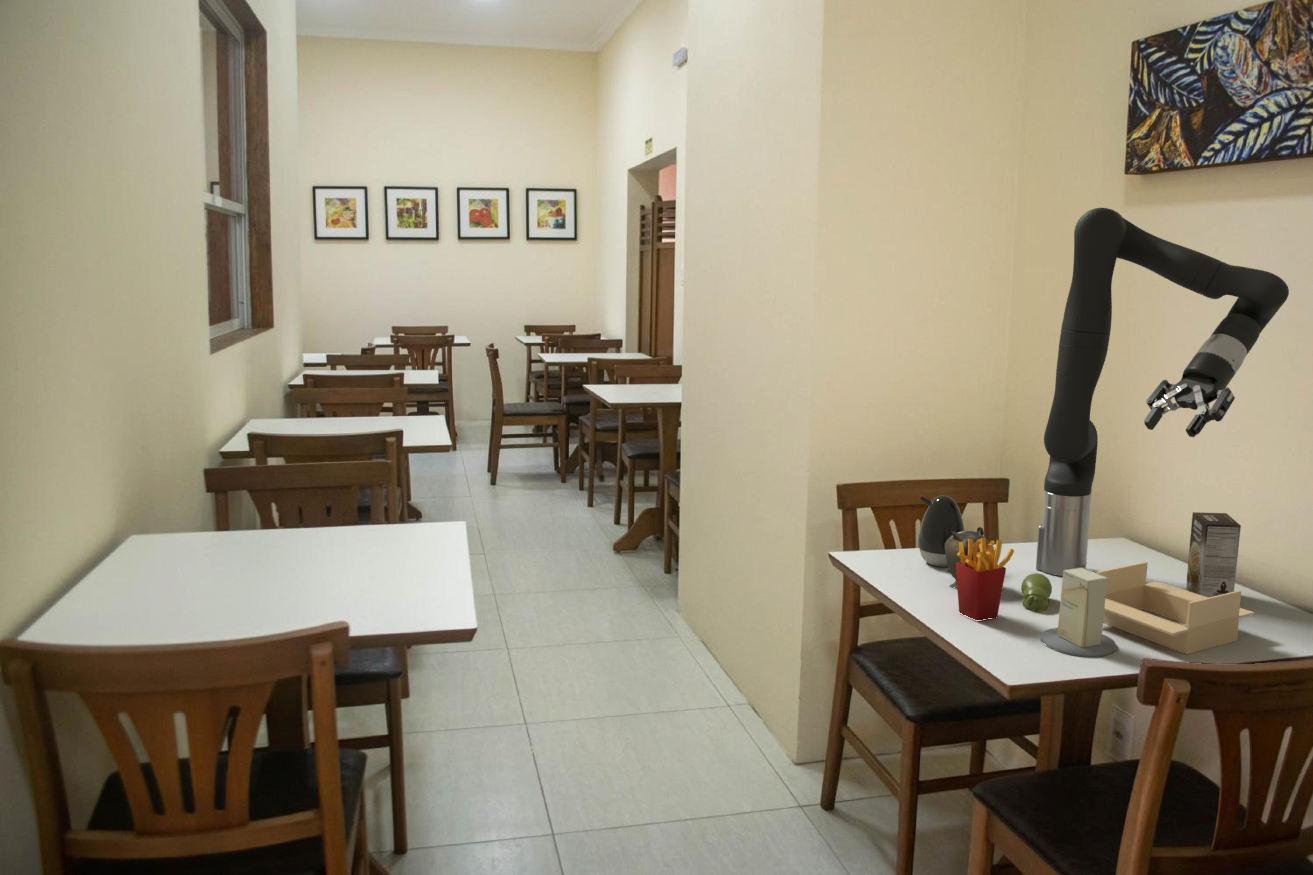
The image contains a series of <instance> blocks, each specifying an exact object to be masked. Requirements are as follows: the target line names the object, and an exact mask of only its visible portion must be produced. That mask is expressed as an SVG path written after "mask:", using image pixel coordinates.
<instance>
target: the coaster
mask: <svg viewBox="0 0 1313 875" xmlns="http://www.w3.org/2000/svg"><path fill="white" fill-rule="evenodd" d="M1057 633H1058V627H1053V628H1049V629H1046V630H1045V631H1043V632H1042V633H1041V634H1040V641H1041V640H1042V641H1041V643H1042V642H1043V643H1045V644H1046V645H1047V646H1049V647H1051V648H1053V649H1055V650H1057V651H1056V652H1058V651H1060V652H1059V653H1061V652H1062V654H1065V653H1066V654H1065V655H1069V656H1074V657H1084V658H1099V657H1105V656H1109V655H1112V654H1113V653H1114V652H1116V647H1117V645H1116V642H1115V640H1114V639H1112V638H1111V637H1109V636H1108V635H1105V634H1104V633H1103V634H1102V636H1101V644H1100V645H1095V646H1089V647H1083V648H1082V647H1079V646H1077V645H1075V644H1073V643H1071V642H1069V641H1067V640H1066V639H1064V638H1062V637H1060V636H1058V635H1057ZM1043 643H1042V644H1043ZM1047 646H1046V647H1047ZM1049 647H1048V648H1049ZM1053 649H1052V650H1053ZM1055 650H1054V651H1055Z"/></svg>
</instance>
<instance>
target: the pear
mask: <svg viewBox="0 0 1313 875" xmlns="http://www.w3.org/2000/svg"><path fill="white" fill-rule="evenodd" d="M1020 588H1021V590H1020V591H1021V594H1022V596H1023V600H1022V602H1021V603H1022V606H1023V608H1024V609H1025V608H1026V609H1027V610H1031V609H1035V610H1034V611H1037V610H1041V611H1040V612H1043V611H1045V610H1046V609H1048V606H1049V605H1048V600H1049V598H1050V597H1051V595H1052V593H1053V586H1052V583H1051V581H1050V579H1049V578H1048V577H1047V576H1046V575H1044V574H1041V573H1037V572H1035V573H1030V574H1028V575H1026V576H1025V577H1024V579H1023V580H1022V582H1021V586H1020ZM1026 609H1025V610H1026Z"/></svg>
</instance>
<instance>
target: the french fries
mask: <svg viewBox="0 0 1313 875" xmlns="http://www.w3.org/2000/svg"><path fill="white" fill-rule="evenodd" d="M986 539H987V538H986V537H985V538H981V539H978V540H977V541H976V543H975V545H974V547H973V540H972V539H968V555H967V556H966V555H965V554H964V546H963V542H958V544H959V552H958V554H957V556H959V557H960V560H961V562H958V563H956V577H957V589H956V591H957V600H958V613H959V612H960V613H962V614H963V615H966V616H968V617H970V618H973V619H975V620H983V619H988V618H995V619H997V618H998V615H999V610H1000V604H1001V599H1002V593H1003V588H1004V582H1005V576H1006V570H1007V568H1006V567H1004V566H1005V565H1007V563H1009V561H1010V560H1011V559H1012V556H1013V555H1014V552H1015V550H1014V549H1013V548H1009V550H1008V552H1007V554H1006V556H1005V557H1004V558H1003V559H1002V561H1000V562H999V560H1000V558H1001V552H1002V545H1003V540H1002V539H996V541H995V540H990V541H989V542H990V543H989V544H988V547H987V549H986ZM980 542H981V544H980ZM994 545H995V547H994ZM978 546H979V547H980V552H978ZM972 554H973V560H971V559H972ZM985 557H986V560H985ZM963 615H962V616H963ZM996 617H997V618H996Z"/></svg>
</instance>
